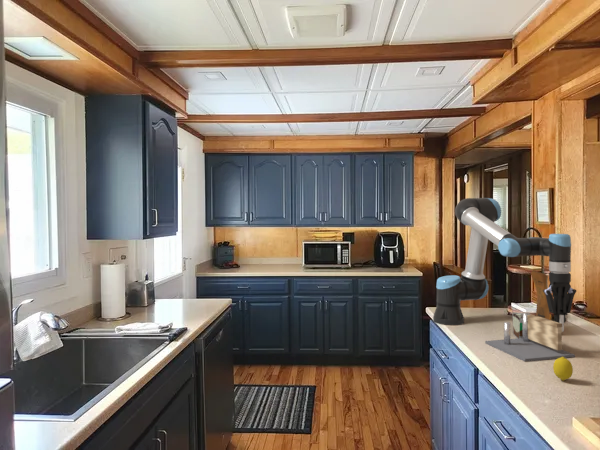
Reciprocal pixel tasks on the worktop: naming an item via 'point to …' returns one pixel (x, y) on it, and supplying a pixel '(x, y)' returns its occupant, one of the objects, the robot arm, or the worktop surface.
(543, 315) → the pancake mix bag
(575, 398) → the worktop surface
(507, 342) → the posts
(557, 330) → the light wood flat slab
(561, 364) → the lemon
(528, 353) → the mat
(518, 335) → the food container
